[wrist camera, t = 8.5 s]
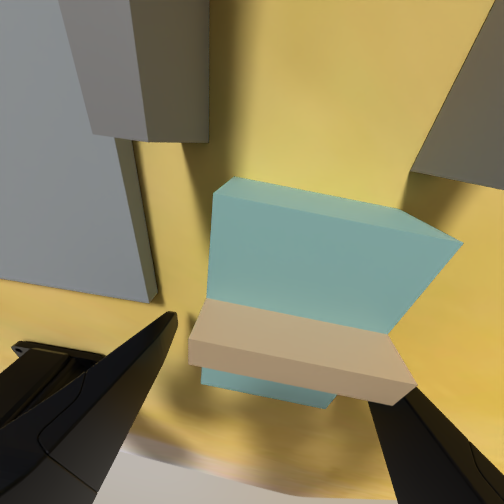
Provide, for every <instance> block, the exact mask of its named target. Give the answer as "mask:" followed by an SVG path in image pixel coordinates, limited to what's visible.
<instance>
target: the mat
mask: <svg viewBox="0 0 504 504" xmlns="http://www.w3.org/2000/svg"><path fill="white" fill-rule="evenodd" d="M0 279H6V280H12V281H18V282H24V283H30V284H36V285H42V286H48V287H54V288H60V289H66V290H72V291H78V292H84V293H90V294H96V295H102V296H108V297H114V298H120V299H126V300H132V301H138V302H144V303H150V302H151V300H152V299H153V298H154V297H155V295H156V294H157V293H158V290H157V284H156V279H155V273H154V267H153V261H152V256H151V250H150V244H149V238H148V232H147V227H146V221H145V215H144V209H143V204H142V198H141V192H140V186H139V180H138V175H137V169H136V163H135V157H134V152H133V146H132V140H129V139H122V138H115V137H108V136H101V135H94V134H92V130H91V126H90V122H89V118H88V114H87V110H86V107H85V103H84V99H83V95H82V91H81V87H80V83H79V80H78V76H77V72H76V68H75V64H74V60H73V56H72V52H71V49H70V45H69V41H68V37H67V33H66V29H65V25H64V22H63V18H62V14H61V10H60V6H59V2H58V0H0Z"/></svg>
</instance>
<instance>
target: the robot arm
mask: <svg viewBox="0 0 504 504" xmlns="http://www.w3.org/2000/svg"><path fill="white" fill-rule="evenodd" d="M177 327H178V319H177V313H176V312H171V311H168V312H166V313H164V314H163V315H162V316H160V317H159V318H157V319H156V320H155V321H153V322H152V323H151V324H149V325H148V326H147V327H145V328H144V329H143V330H141V331H140V332H138V333H137V334H136V335H134V336H133V337H132V338H130V339H129V340H128V341H126V342H125V343H123V344H122V345H121V346H119V347H118V348H117V349H115V350H114V351H113V352H111V353H110V354H108V355H107V356H106V357H104V358H103V357H102V356H100V355H97V354H92V353H87V352H81V351H75V350H70V349H64V348H58V347H53V346H47V345H41V344H36V343H30V342H24V341H18V342H17V343H16V344H14V345H13V346H12V347H11V348H12V350H13V351H14V352H15V353H16V354H17V356H18V357H19V358H18V359H17V360H16V361H15V362H14V363H12V364H11V365H10V366H9V367H8V368H6V369H5V370H4V371H3V372H2V373H0V504H92V503H93V501H94V499H95V497H96V495H97V492H98V491H99V489H100V487H101V485H102V483H103V481H104V479H105V477H106V476H107V474H108V471H109V470H110V468H111V466H112V464H113V462H114V460H115V458H116V456H117V454H118V452H119V450H120V448H121V446H122V444H123V442H124V440H125V438H126V436H127V434H128V432H129V430H130V428H131V426H132V424H133V422H134V420H135V418H136V416H137V414H138V412H139V410H140V408H141V406H142V405H143V403H144V401H145V399H146V397H147V395H148V393H149V391H150V389H151V387H152V385H153V383H154V381H155V379H156V377H157V375H158V373H159V371H160V369H161V367H162V365H163V363H164V361H165V358H166V356H167V353H168V351H169V348H170V346H171V343H172V340H173V338H174V335H175V333H176V330H177ZM368 404H369V407H370V411H371V414H372V417H373V421H374V424H375V427H376V431H377V434H378V438H379V441H380V444H381V448H382V451H383V454H384V458H385V461H386V464H387V468H388V471H389V475H390V478H391V481H392V485H393V488H394V491H395V495H396V498H397V501H398V504H504V475H503V474H502V473H501V472H500V471H499V470H498V469H497V468H496V467H495V466H494V465H493V464H492V463H491V462H490V461H489V460H488V459H487V458H486V457H485V456H484V455H483V454H482V453H481V452H480V451H479V450H478V449H477V448H476V447H475V446H474V445H473V444H472V443H471V442H470V441H468V439H467V438H466V437H465V436H464V435H463V434H462V433H461V432H460V431H459V430H458V429H457V428H456V427H455V425H454V424H453V423H452V422H451V421H450V420H449V419H448V418H447V417H446V416H445V415H444V414H443V413H442V412H441V411H440V410H439V409H438V408H437V407H436V406H435V405H434V404H433V403H432V402H431V401H430V400H429V399H428V398H427V397H426V396H425V395H424V394H423V393H422V392H421V391H420V390H419V389H418V388H417V387H415V388H414V389H412V390H411V391H410V392H409V393H408V394H406V395H405V396H404V397H403V398H401V399H400V400H399V401H398V402H397V403H395V404H394V405H393V406H391V405H386V404H381V403H376V402H371V401H368Z"/></svg>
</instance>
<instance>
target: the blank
mask: <svg viewBox="0 0 504 504" xmlns="http://www.w3.org/2000/svg"><path fill="white" fill-rule="evenodd" d="M462 245H463V242H461V241H459V240H457V239H455V238H453V237H451V236H449V235H448V234H446V233H444V232H442V231H440V230H438V229H436V228H434V227H432V226H430V225H429V224H427V223H425V222H423V221H421V220H419V219H417V218H415V217H413V216H411V215H409V214H408V213H406V212H404V211H402V210H400V209H396V208H391V207H386V206H381V205H376V204H371V203H366V202H361V201H356V200H351V199H346V198H341V197H336V196H331V195H325V194H320V193H315V192H310V191H305V190H300V189H295V188H290V187H285V186H280V185H275V184H270V183H265V182H260V181H255V180H250V179H245V178H240V177H235V176H234V177H233V178H231V179H230V180H229V181H228V182H226V183H225V184H224V185H223V186H222V187H220V188H219V189H218V190H217V191H215V192H214V193H213V205H212V220H211V235H210V251H209V266H208V281H207V297H206V300H205V302H204V305H203V307H202V309H201V311H200V314H199V316H198V318H197V320H196V323H195V325H194V327H193V329H192V332H191V334H190V336H189V339H188V364H189V365H194V366H199V367H202V374H201V384H204V385H209V386H214V387H219V388H224V389H228V390H233V391H238V392H243V393H248V394H253V395H258V396H263V397H268V398H273V399H278V400H283V401H287V402H292V403H297V404H302V405H307V406H312V407H317V408H322V409H326V408H327V407H328V405H329V404H330V403H331V402H332V401H333V399H334V398H335V397H336V396H337V395H342V396H346V397H351V398H356V399H361V400H366V401H371V402H376V403H381V404H386V405H391V406H393V405H394V404H395V403H397V402H398V401H399V400H400V399H401V398H403V397H404V396H405V395H406V394H408V393H409V392H410V391H411V390H412V389H414V388H415V387H416V386H417V383H416V381H415V380H414V378H413V376H412V375H411V373H410V371H409V370H408V368H407V366H406V365H405V363H404V361H403V360H402V358H401V356H400V354H399V353H398V351H397V349H396V348H395V346H394V344H393V343H392V341H391V339H390V338H389V336H388V333H389V332H390V331H391V330H392V329H393V327H394V326H395V325H396V324H397V323H398V321H399V320H400V319H401V318H402V317H403V315H404V314H405V313H406V312H407V311H408V309H409V308H410V307H411V306H412V305H413V303H414V302H415V301H416V300H417V299H418V297H419V296H420V295H421V294H422V293H423V291H424V290H425V289H426V288H427V287H428V285H429V284H430V283H431V282H432V281H433V279H434V278H435V277H436V276H437V275H438V273H439V272H440V271H441V270H442V269H443V267H444V266H445V265H446V264H447V263H448V261H449V260H450V259H451V258H452V257H453V255H454V254H455V253H456V252H457V251H458V249H459V248H460V247H461V246H462Z"/></svg>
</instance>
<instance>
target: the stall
mask: <svg viewBox="0 0 504 504" xmlns="http://www.w3.org/2000/svg"><path fill="white" fill-rule="evenodd" d="M58 2H59V6H60V10H61V14H62V18H63V22H64V25H65V29H66V33H67V37H68V41H69V45H70V49H71V52H72V56H73V60H74V64H75V68H76V72H77V76H78V80H79V83H80V87H81V91H82V95H83V99H84V103H85V107H86V110H87V114H88V118H89V122H90V126H91V130H92V134H94V135H101V136H108V137H115V138H122V139H129V140H136V141H143V142H177V143H209V0H58ZM410 171H413V172H418V173H422V174H427V175H432V176H437V177H442V178H447V179H452V180H457V181H462V182H467V183H472V184H477V185H481V186H486V187H491V188H496V189H501V190H504V0H496V1H495V3H494V5H493V7H492V9H491V11H490V13H489V15H488V17H487V19H486V21H485V23H484V25H483V27H482V29H481V31H480V33H479V35H478V37H477V39H476V41H475V43H474V45H473V47H472V49H471V51H470V53H469V55H468V57H467V59H466V61H465V63H464V65H463V67H462V69H461V71H460V73H459V75H458V77H457V79H456V81H455V83H454V85H453V87H452V89H451V91H450V93H449V95H448V97H447V99H446V101H445V103H444V105H443V107H442V109H441V111H440V113H439V115H438V117H437V119H436V120H435V122H434V124H433V126H432V128H431V130H430V132H429V134H428V136H427V138H426V140H425V142H424V144H423V146H422V148H421V150H420V152H419V154H418V156H417V158H416V160H415V162H414V164H413V166H412V168H411V170H410Z"/></svg>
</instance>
